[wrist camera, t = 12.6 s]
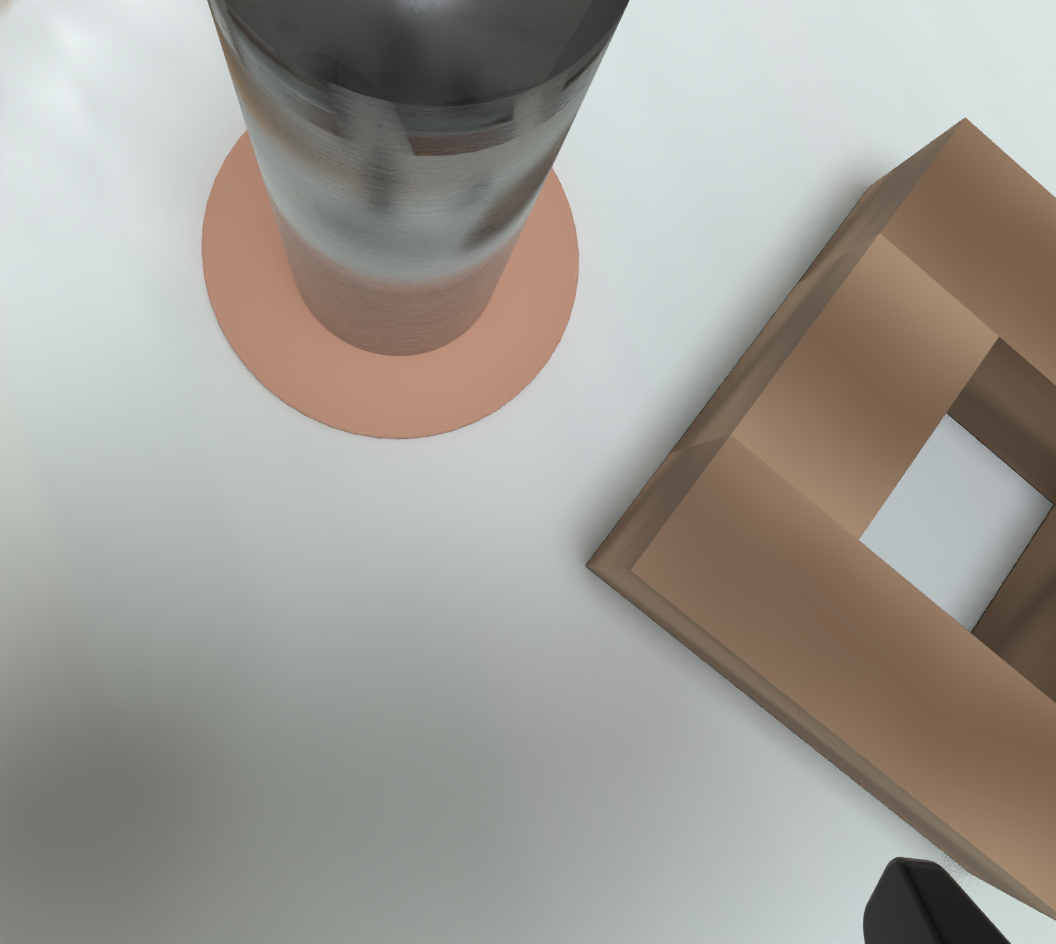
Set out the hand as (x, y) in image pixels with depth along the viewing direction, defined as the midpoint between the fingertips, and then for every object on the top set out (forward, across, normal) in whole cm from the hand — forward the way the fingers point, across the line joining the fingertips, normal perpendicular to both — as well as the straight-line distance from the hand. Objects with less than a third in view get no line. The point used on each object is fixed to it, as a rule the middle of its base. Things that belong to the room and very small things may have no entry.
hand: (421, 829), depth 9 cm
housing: (+15, -12, +5) cm, 19 cm away
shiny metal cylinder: (+16, +3, 0) cm, 16 cm away
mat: (+16, +3, 0) cm, 16 cm away
